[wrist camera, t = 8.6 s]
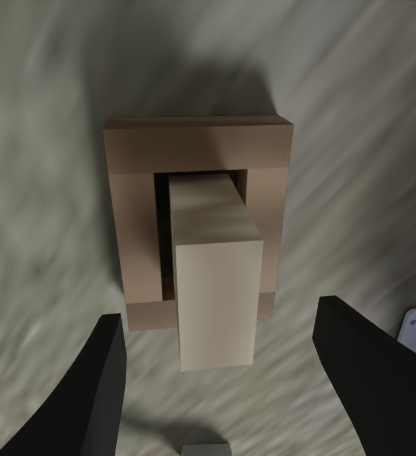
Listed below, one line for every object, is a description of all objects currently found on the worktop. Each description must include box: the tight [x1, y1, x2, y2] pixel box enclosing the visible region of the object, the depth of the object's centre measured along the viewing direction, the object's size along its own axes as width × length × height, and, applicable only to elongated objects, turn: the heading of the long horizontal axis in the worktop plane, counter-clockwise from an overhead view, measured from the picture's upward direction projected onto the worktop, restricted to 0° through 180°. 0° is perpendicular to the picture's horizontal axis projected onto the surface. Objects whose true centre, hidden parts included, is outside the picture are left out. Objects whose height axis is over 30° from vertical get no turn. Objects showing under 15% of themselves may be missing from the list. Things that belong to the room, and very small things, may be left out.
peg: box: [168, 170, 264, 372], centre depth 17 cm, size 3×6×8 cm, turn 0°
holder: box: [102, 114, 294, 331], centre depth 20 cm, size 11×8×2 cm
